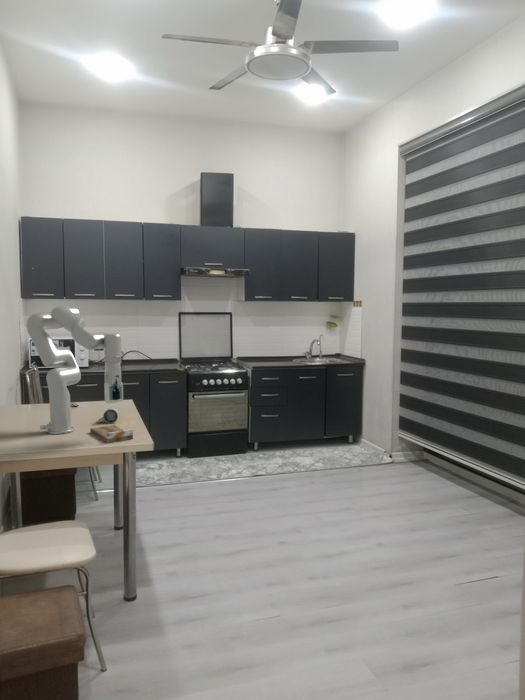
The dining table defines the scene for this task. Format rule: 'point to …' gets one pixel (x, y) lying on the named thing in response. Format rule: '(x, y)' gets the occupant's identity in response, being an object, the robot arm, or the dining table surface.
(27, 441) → the dining table surface
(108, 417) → the ceramic mug
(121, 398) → the carton
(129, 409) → the dining table surface
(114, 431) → the shelf board
